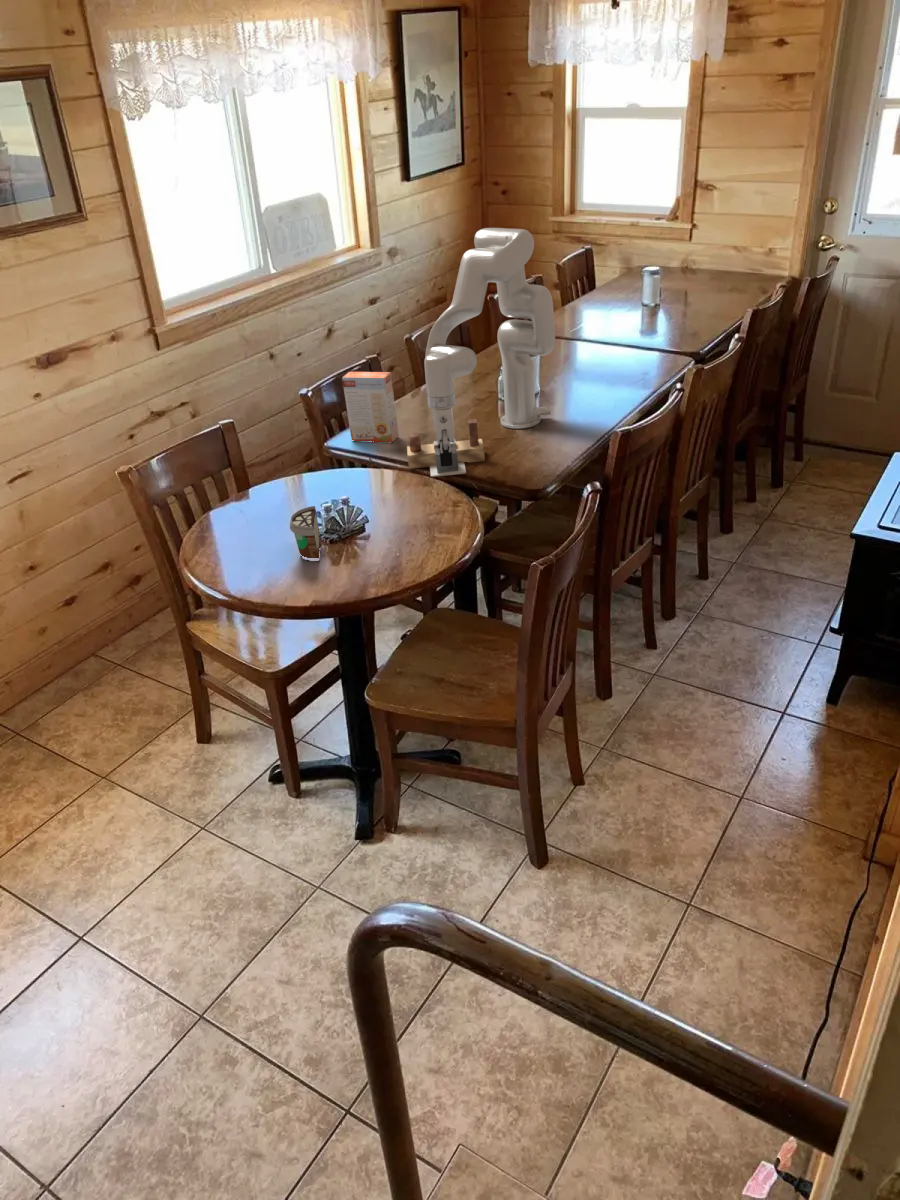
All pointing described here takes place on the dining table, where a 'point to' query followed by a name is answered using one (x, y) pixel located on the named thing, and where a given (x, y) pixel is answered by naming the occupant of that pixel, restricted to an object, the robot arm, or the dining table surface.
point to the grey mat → (460, 467)
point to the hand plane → (465, 449)
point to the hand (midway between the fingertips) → (445, 459)
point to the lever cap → (447, 468)
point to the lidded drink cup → (306, 531)
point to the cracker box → (370, 406)
